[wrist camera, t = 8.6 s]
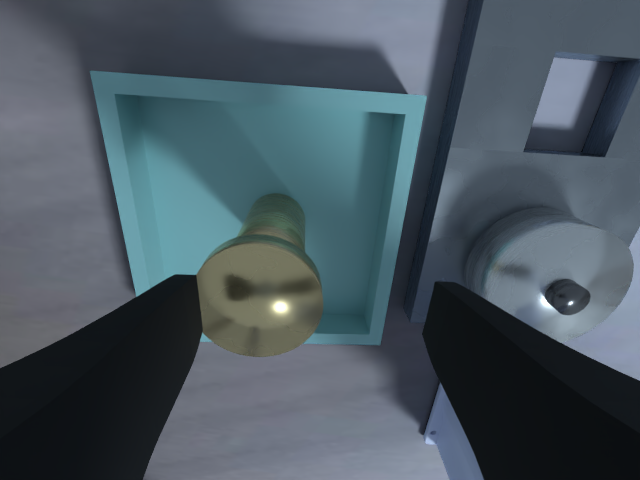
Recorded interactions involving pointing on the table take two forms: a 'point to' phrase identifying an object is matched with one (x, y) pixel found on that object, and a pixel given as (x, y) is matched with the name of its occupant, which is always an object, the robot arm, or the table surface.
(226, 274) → the pin
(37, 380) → the robot arm
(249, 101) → the tray
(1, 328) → the table surface
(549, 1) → the plate
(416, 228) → the table surface
